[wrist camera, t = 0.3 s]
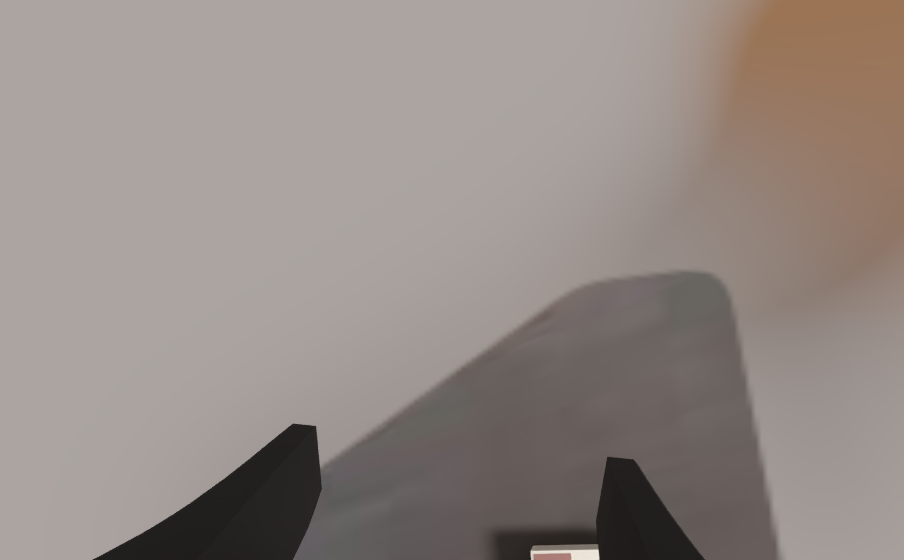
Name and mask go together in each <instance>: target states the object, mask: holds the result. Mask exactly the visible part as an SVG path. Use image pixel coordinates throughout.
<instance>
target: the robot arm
mask: <svg viewBox="0 0 904 560" xmlns="http://www.w3.org/2000/svg"><path fill="white" fill-rule="evenodd" d="M321 489H322V486H321V475H320V464H319V454H318V442H317V432H316V426H310V425H301V424H292V425H291V426H289V427H288V428H287V429H286V430H285V431H283V432H282V433H281V434H279V435H278V436H277V437H276V438H275V439H273V440H272V441H271V442H270V443H268V444H267V445H266V446H265V447H264V448H262V449H261V450H260V451H259V452H257V453H256V454H255V455H254V456H253V457H251V458H250V459H249V460H248V461H246V462H245V463H244V464H242V465H241V466H240V467H239V468H237V469H236V470H235V471H234V472H232V473H231V474H230V475H229V476H227V477H226V478H225V479H223V480H222V481H220V482H219V483H218V484H216V485H215V486H214V487H212V488H211V489H209V490H208V491H207V492H205V493H204V494H202V495H201V496H200V497H198V498H197V499H196V500H194V501H193V502H191V503H190V504H188V505H187V506H185V507H184V508H182V509H181V510H179V511H178V512H176V513H175V514H174V515H172V516H170V517H168V518H167V519H165V520H163V521H162V522H160V523H159V524H157V525H155V526H154V527H152V528H151V529H149V530H147V531H145V532H144V533H142V534H140V535H138V536H136V537H134V538H133V539H131V540H129V541H127V542H125V543H123V544H121V545H120V546H118V547H116V548H114V549H112V550H110V551H109V552H107V553H105V554H103V555H101V556H99V557H97V558H95V559H93V560H293V558H294V556H295V554H296V552H297V550H298V548H299V546H300V544H301V541H302V539H303V537H304V535H305V533H306V531H307V529H308V527H309V524H310V521H311V518H312V516H313V513H314V510H315V507H316V504H317V501H318V498H319V495H320V492H321ZM596 526H597V539H598V551H599V560H705V559H704V558H703V557H702V555H701V554H700V553H699V552H698V550H697V549H696V548H695V546H694V545H693V544H692V543H691V541H690V540H689V539H688V537H687V536H686V535H685V533H684V532H683V530H682V529H681V528H680V526H679V525H678V524H677V522H676V521H675V520H674V518H673V517H672V515H671V514H670V513H669V511H668V510H667V508H666V507H665V505H664V504H663V502H662V501H661V500H660V498H659V497H658V495H657V494H656V492H655V491H654V489H653V488H652V486H651V484H650V483H649V481H648V480H647V478H646V477H645V475H644V474H643V472H642V470H641V469H640V467H639V466H638V464H637V463H636V462H635V461H634V460H633V459H623V458H614V457H607V462H606V467H605V473H604V479H603V484H602V490H601V496H600V502H599V507H598V513H597V519H596Z"/></svg>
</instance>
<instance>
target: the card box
mask: <svg viewBox="0 0 904 560" xmlns="http://www.w3.org/2000/svg"><path fill="white" fill-rule="evenodd" d="M531 560H599V551H598V544H581V545H536V546H533V547H532V549H531Z"/></svg>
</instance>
